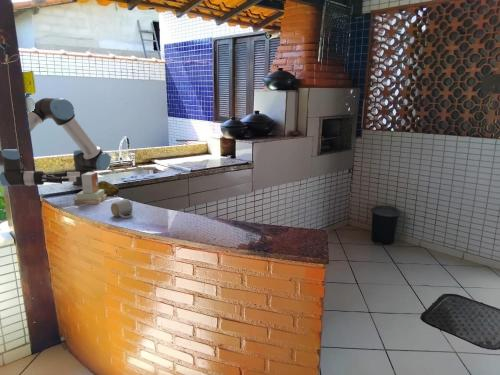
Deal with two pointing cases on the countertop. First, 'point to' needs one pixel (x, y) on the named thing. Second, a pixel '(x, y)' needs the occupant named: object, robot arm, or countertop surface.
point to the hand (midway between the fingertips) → (78, 176)
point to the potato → (108, 188)
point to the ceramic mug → (122, 208)
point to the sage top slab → (91, 195)
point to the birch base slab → (90, 200)
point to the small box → (90, 182)
